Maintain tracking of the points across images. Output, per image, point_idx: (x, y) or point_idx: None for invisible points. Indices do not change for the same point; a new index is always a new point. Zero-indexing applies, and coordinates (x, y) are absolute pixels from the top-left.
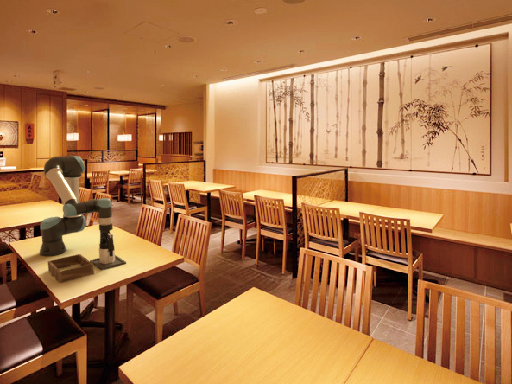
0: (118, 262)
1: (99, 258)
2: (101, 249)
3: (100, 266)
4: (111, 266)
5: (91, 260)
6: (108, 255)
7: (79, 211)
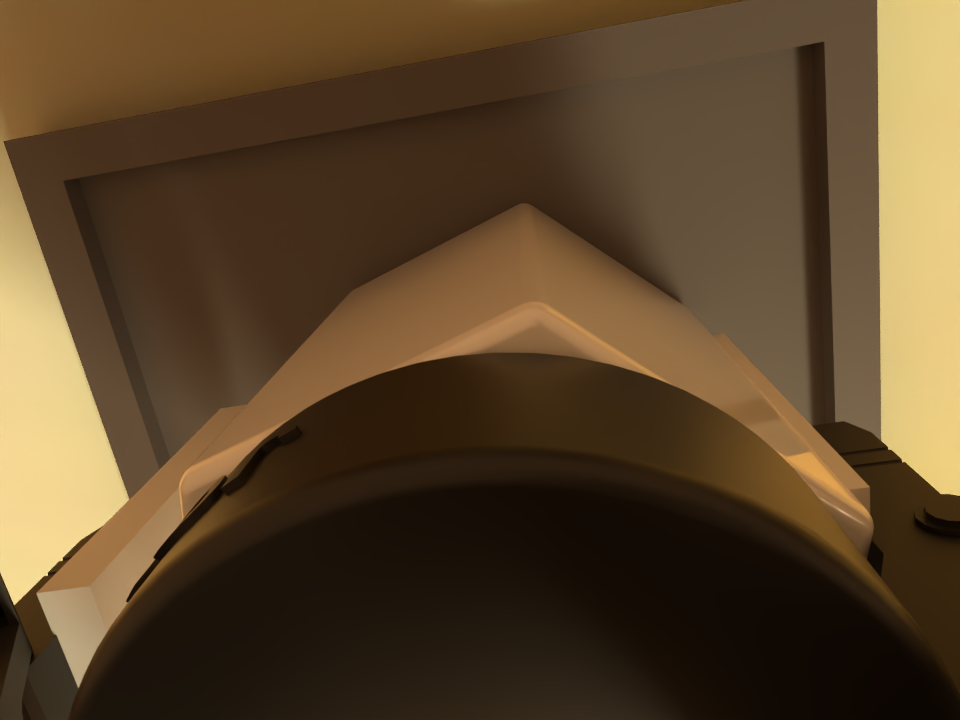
0: None
1: (516, 222)
2: (319, 401)
3: (161, 159)
4: (104, 396)
5: (823, 16)
6: (143, 495)
7: None
